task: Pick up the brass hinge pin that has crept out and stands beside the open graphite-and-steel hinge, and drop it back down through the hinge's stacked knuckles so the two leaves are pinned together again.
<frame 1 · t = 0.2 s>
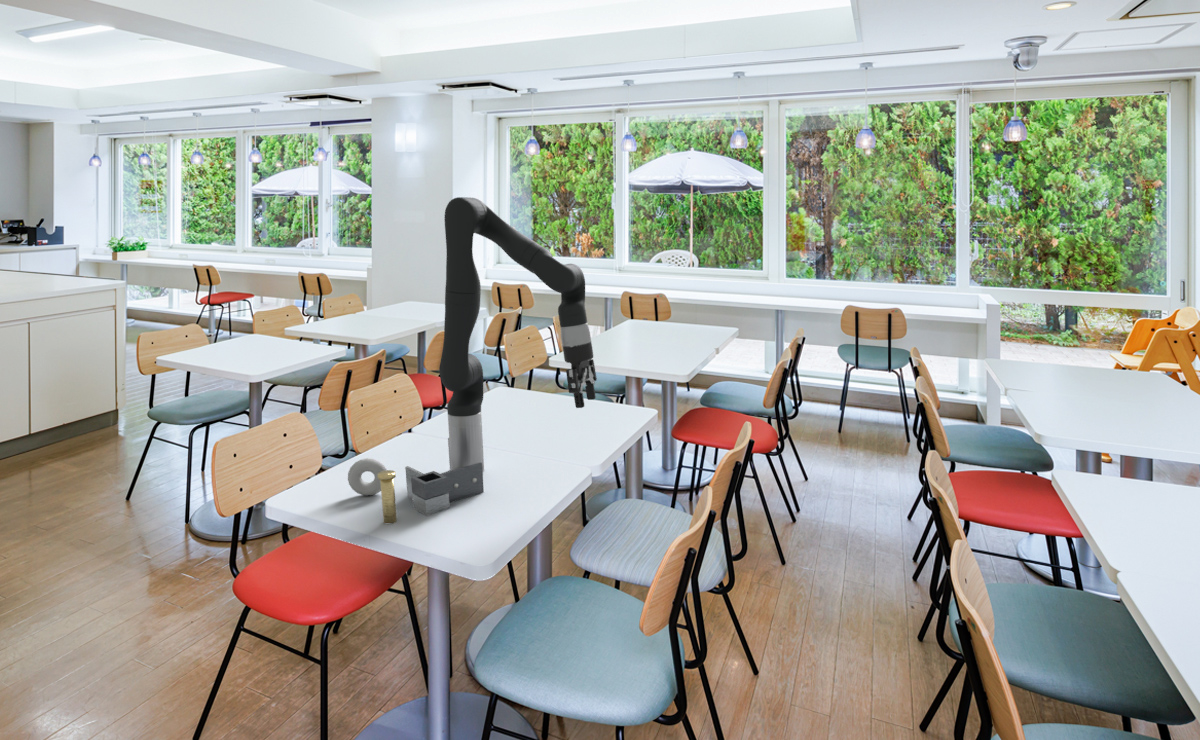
hand: (586, 403, 187), 22 cm above the table, tool pointing down, fingers open, 8 cm apart
donut: (369, 495, 186), on the table
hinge: (431, 508, 177), on the table
pin: (390, 521, 170), on the table
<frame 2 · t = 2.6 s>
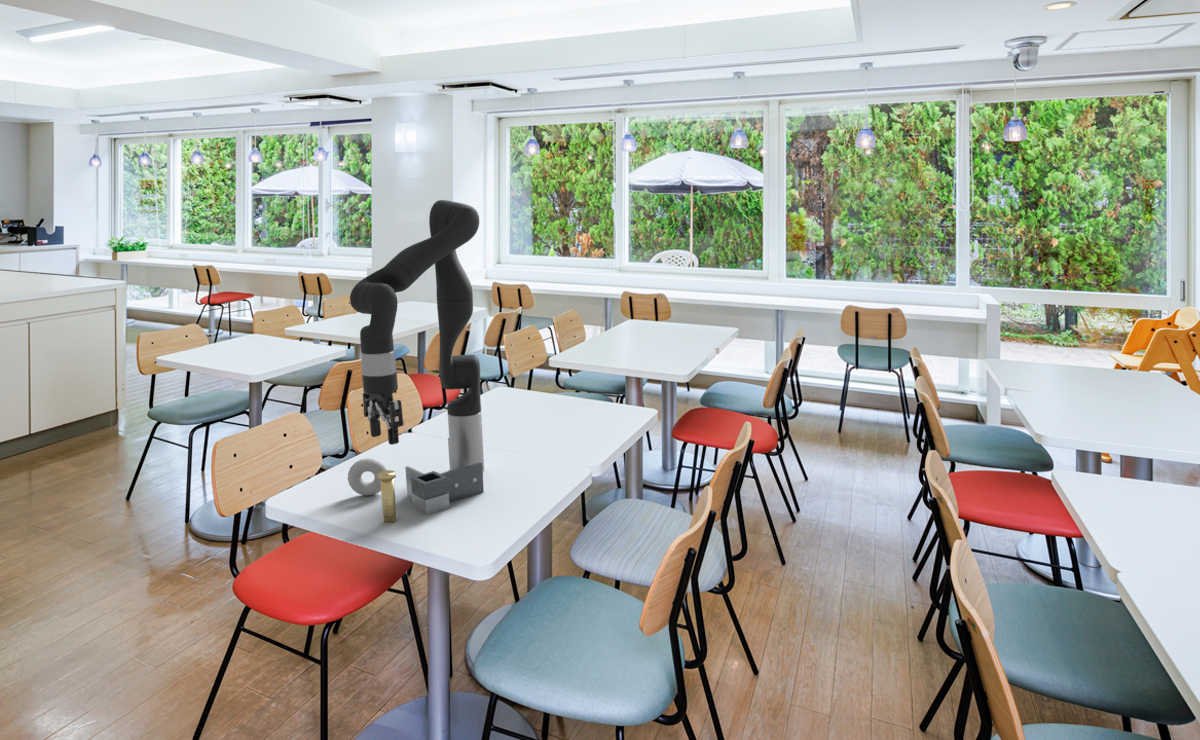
hand: (384, 439, 166), 20 cm above the table, tool pointing down, fingers open, 8 cm apart
nothing on the table moved.
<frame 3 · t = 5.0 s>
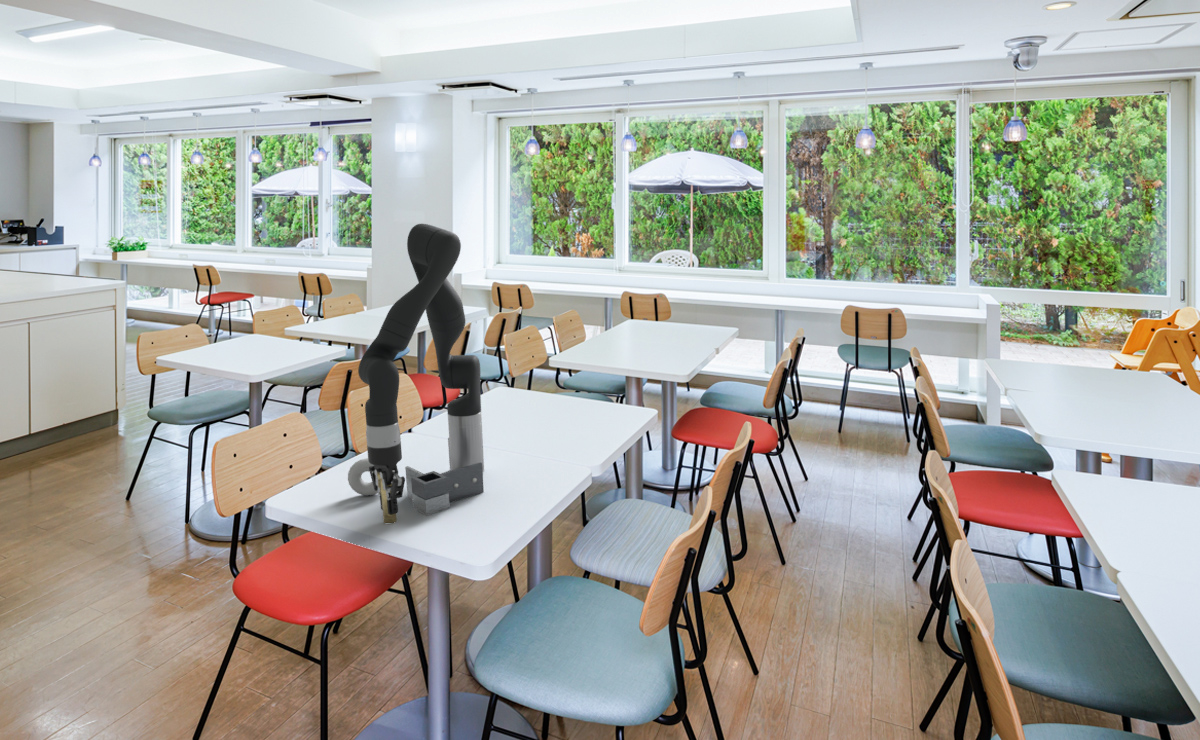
hand: (389, 511, 169), 3 cm above the table, tool pointing down, fingers closed on pin, 3 cm apart
pin: (390, 521, 170), on the table, touching gripper
everything else where it was.
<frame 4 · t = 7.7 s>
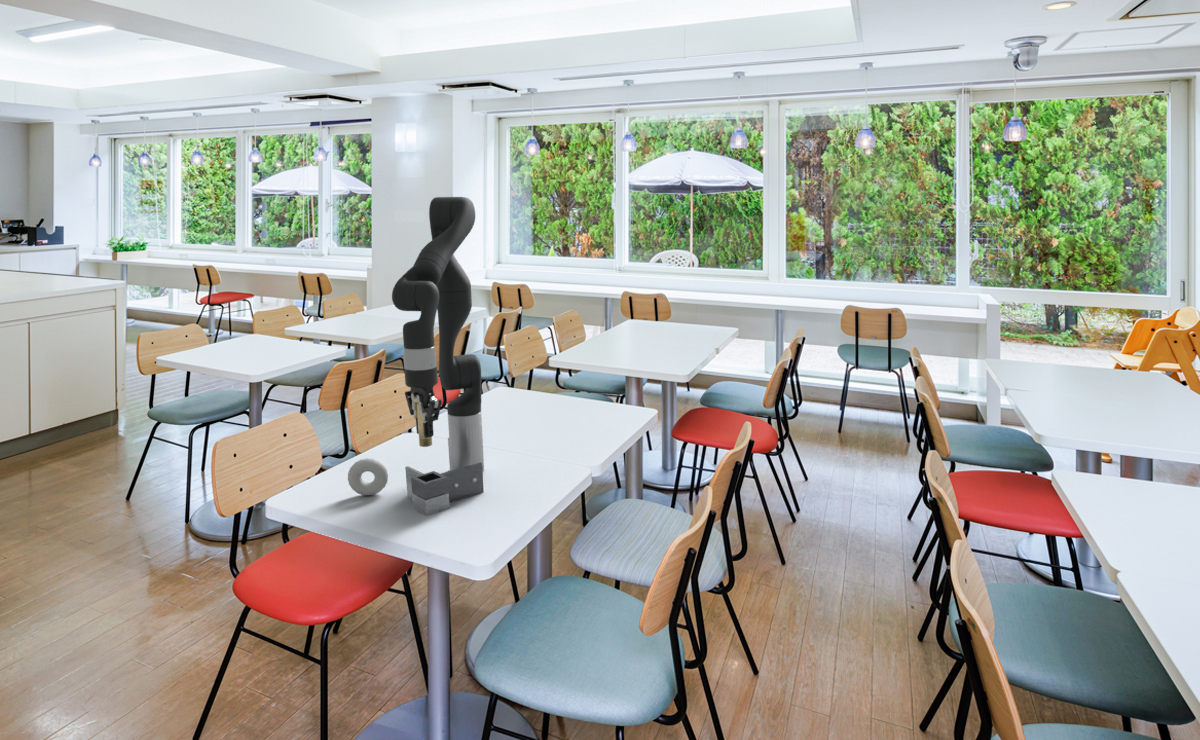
hand: (425, 434, 173), 19 cm above the table, tool pointing down, fingers closed on pin, 3 cm apart
pin: (425, 444, 174), point 16 cm above the table, touching gripper
everything else where it was.
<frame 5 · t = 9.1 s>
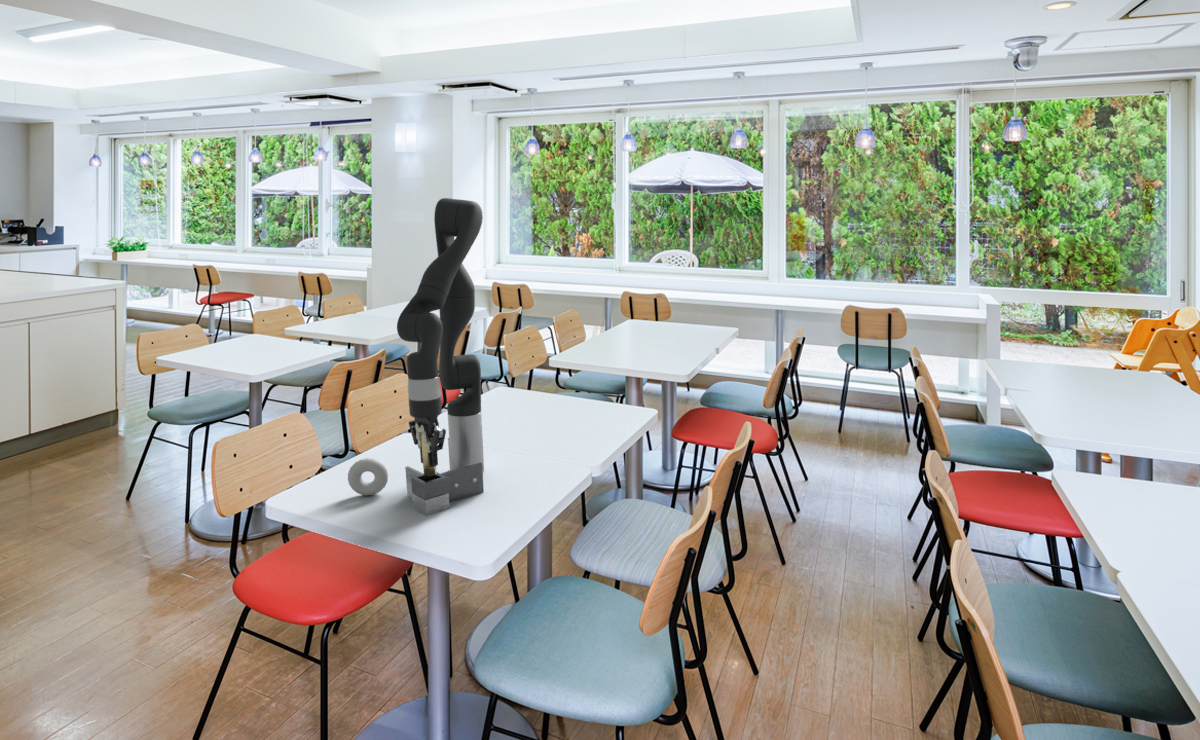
hand: (429, 464, 175), 11 cm above the table, tool pointing down, fingers closed on pin, 3 cm apart
pin: (430, 474, 175), point 9 cm above the table, touching gripper
everything else where it was.
when the fingers open (9 cm above the table, at t = 10.3 s): pin drops 7 cm, resting in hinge.
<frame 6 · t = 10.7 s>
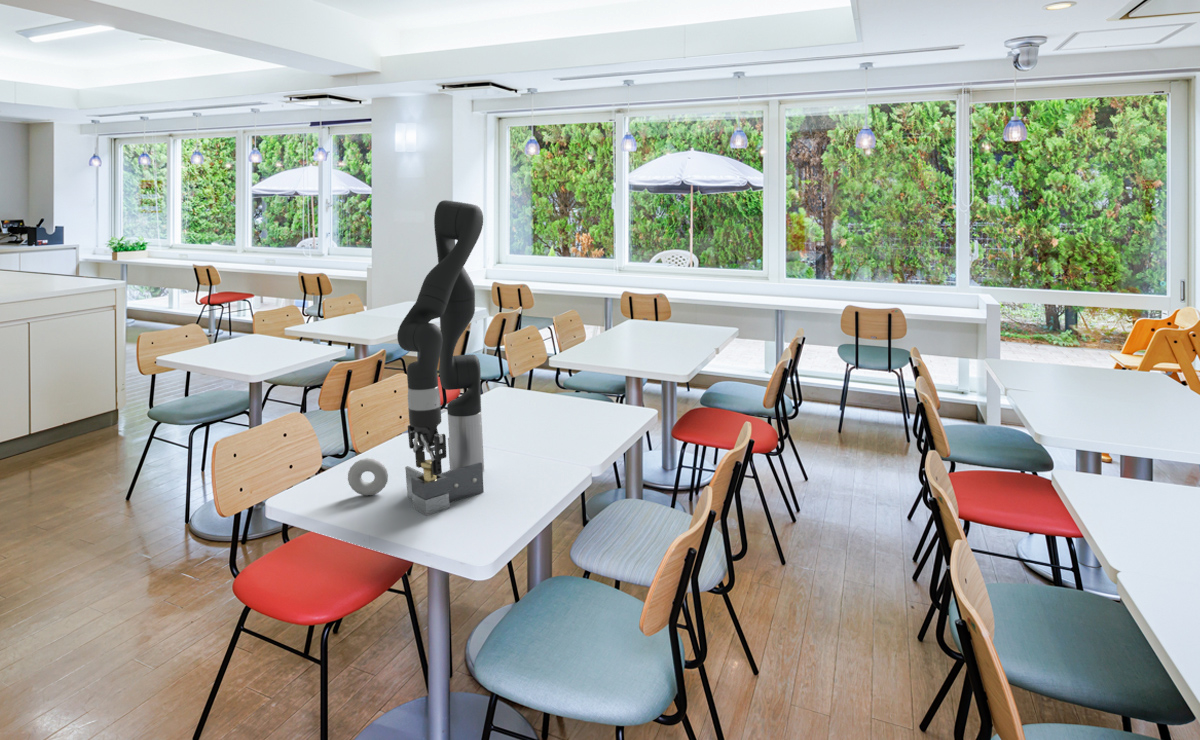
hand: (428, 470, 175), 10 cm above the table, tool pointing down, fingers open, 7 cm apart
pin: (432, 508, 177), resting in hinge
everything else where it was.
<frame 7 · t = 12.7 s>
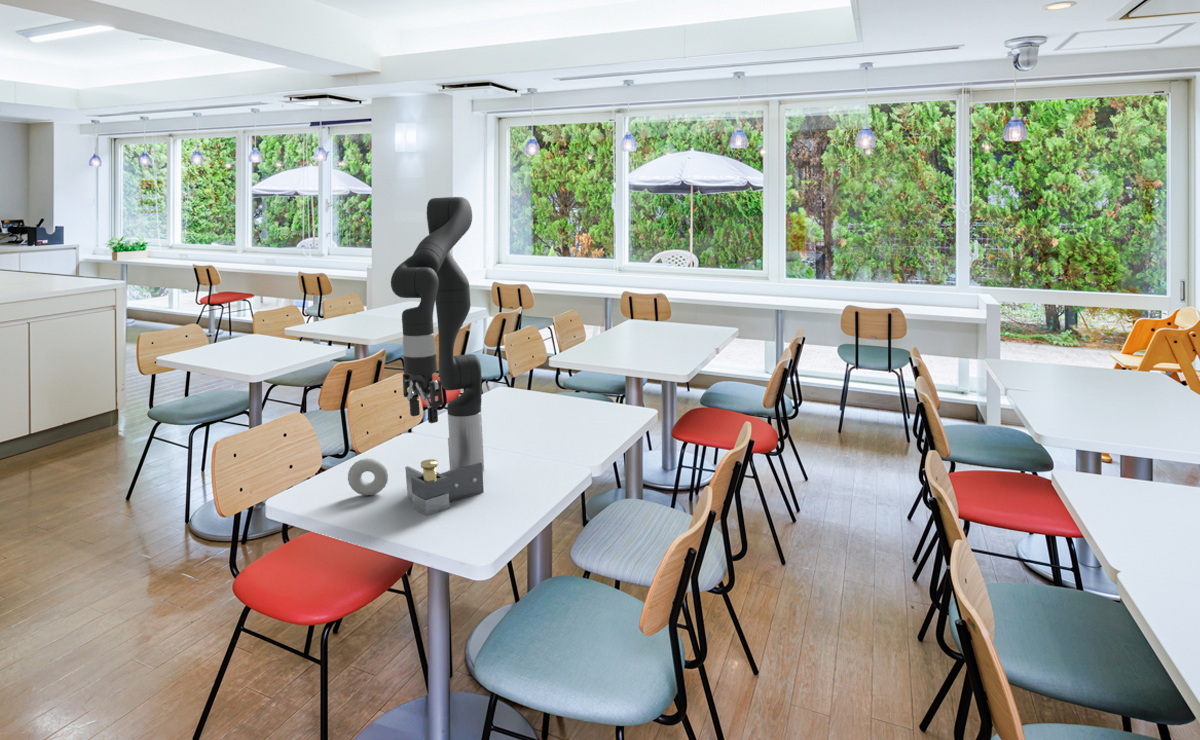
hand: (424, 418, 172), 23 cm above the table, tool pointing down, fingers open, 8 cm apart
nothing on the table moved.
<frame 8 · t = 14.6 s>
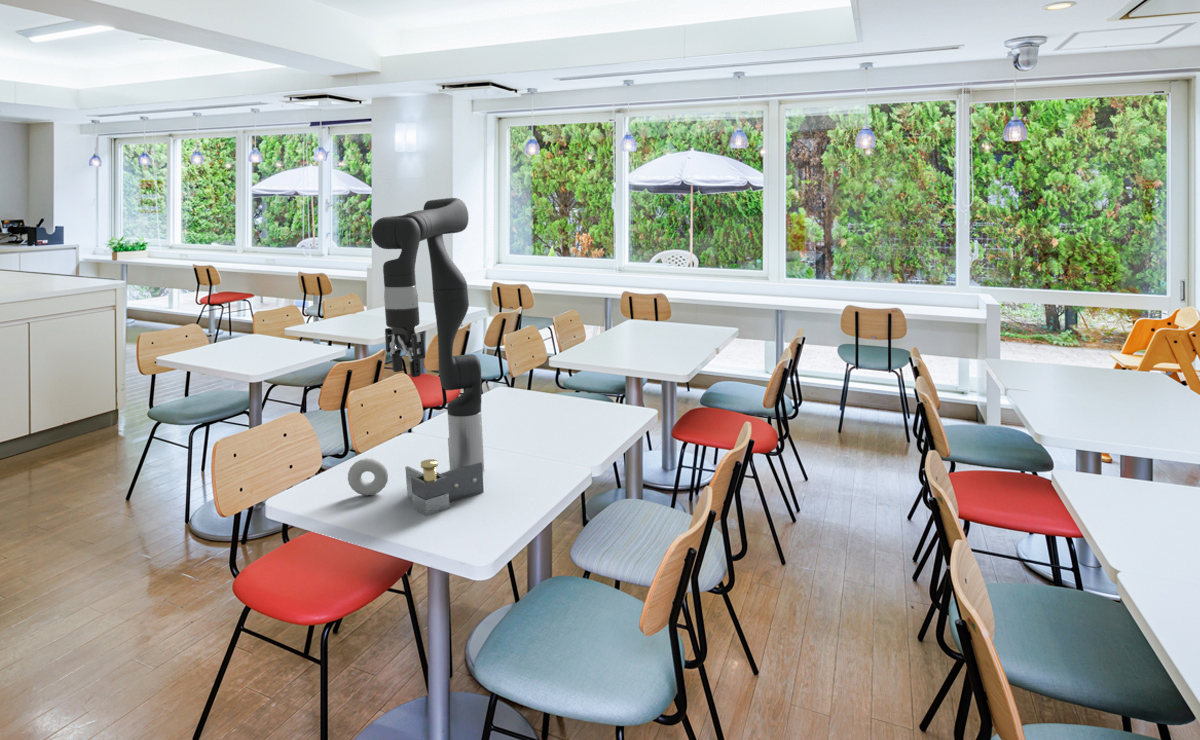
hand: (406, 374, 170), 34 cm above the table, tool pointing down, fingers open, 8 cm apart
nothing on the table moved.
at the end: pin 0.3 cm off-centre on the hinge, point 0.0 cm above the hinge's base; pin tilted 0°; the gripper is holding nothing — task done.
